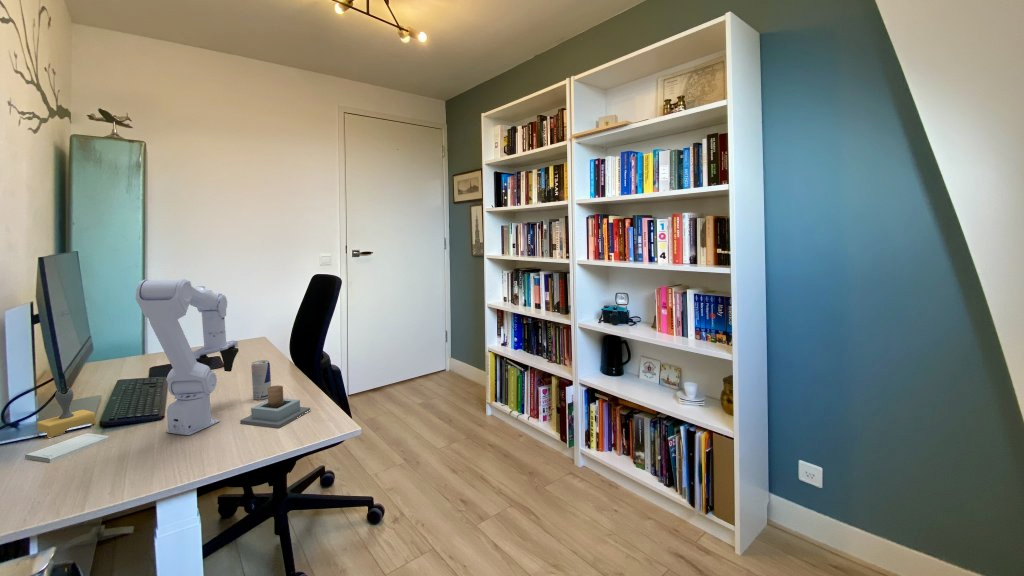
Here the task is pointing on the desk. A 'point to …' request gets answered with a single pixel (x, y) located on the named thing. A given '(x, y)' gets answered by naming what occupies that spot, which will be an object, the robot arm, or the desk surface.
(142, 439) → the desk surface
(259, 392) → the energy drink
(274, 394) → the walnut pin
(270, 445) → the desk surface
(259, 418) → the socket block
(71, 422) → the rubber stamp
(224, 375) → the desk surface
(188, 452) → the desk surface
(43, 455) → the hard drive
